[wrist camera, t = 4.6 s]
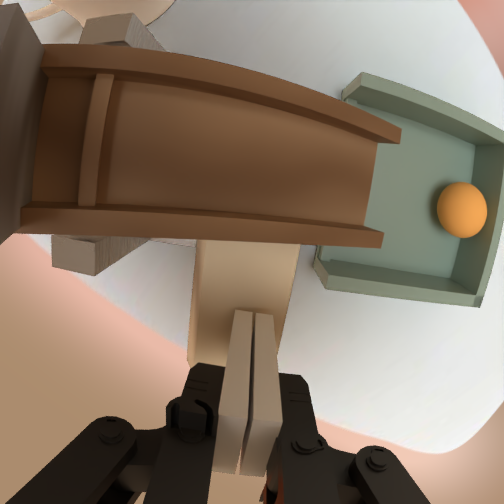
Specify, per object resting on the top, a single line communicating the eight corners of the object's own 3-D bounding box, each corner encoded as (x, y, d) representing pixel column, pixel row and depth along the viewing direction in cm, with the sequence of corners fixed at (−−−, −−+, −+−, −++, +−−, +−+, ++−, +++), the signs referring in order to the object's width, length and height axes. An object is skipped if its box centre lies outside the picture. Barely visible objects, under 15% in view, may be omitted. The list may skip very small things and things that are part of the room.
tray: (342, 90, 17) (362, 71, 13) (479, 139, 17) (513, 137, 13) (313, 266, 20) (325, 289, 16) (451, 287, 20) (479, 307, 16)
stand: (135, 71, 17) (53, 13, 7) (223, 74, 17) (191, -6, 7) (113, 231, 20) (19, 276, 10) (197, 244, 20) (144, 307, 10)
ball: (484, 191, 17) (440, 178, 18) (496, 188, 13) (444, 173, 15) (475, 241, 17) (431, 228, 19) (485, 247, 14) (433, 232, 16)
